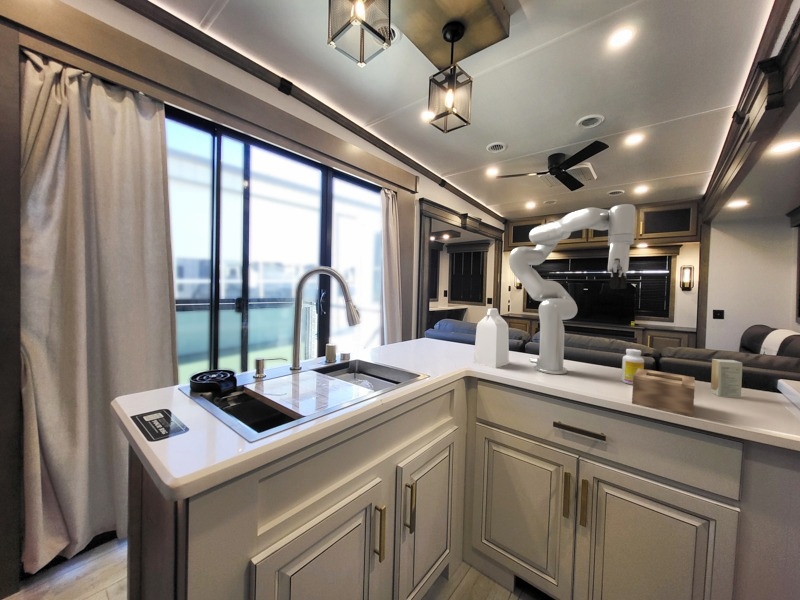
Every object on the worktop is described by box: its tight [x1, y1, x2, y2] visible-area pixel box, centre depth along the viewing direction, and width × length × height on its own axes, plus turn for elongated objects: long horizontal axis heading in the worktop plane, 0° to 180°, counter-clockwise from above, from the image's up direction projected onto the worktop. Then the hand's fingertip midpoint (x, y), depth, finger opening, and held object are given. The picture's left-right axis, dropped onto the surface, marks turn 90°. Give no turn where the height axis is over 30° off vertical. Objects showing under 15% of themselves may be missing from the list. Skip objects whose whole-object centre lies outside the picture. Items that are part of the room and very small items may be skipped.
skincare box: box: [710, 358, 743, 399], centre depth 105 cm, size 6×4×12 cm
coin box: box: [631, 368, 696, 418], centre depth 96 cm, size 14×12×9 cm
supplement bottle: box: [621, 348, 645, 386], centre depth 117 cm, size 7×7×13 cm
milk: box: [473, 307, 510, 369], centre depth 144 cm, size 12×12×26 cm
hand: (618, 288), depth 109 cm, fingers open, 9 cm apart
